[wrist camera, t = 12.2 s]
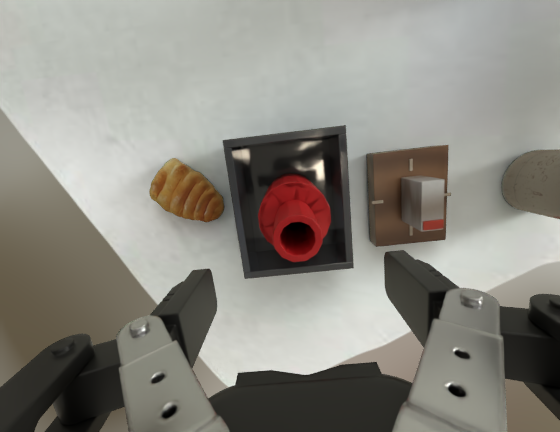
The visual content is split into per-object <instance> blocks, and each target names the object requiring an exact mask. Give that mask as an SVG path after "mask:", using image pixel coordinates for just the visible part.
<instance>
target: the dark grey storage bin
mask: <svg viewBox="0 0 560 432" xmlns="http://www.w3.org/2000/svg"><path fill="white" fill-rule="evenodd" d="M223 146H224V152H225V158H226V165H227V171H228V177H229V183H230V190H231V196H232V202H233V208H234V215H235V221H236V227H237V233H238V240H239V246H240V252H241V259H242V265H243V271H244V277H245V279H248V278H258V277H268V276H278V275H288V274H299V273H309V272H319V271H329V270H339V269H349V268H354V266H353V249H352V231H351V212H350V194H349V176H348V158H347V139H346V125H344V126H336V127H327V128H319V129H311V130H303V131H295V132H287V133H278V134H270V135H262V136H254V137H246V138H237V139H229V140H223ZM288 173H295V174H299V175H302V176H304V177H306V178H307V179H308V180H309V181H311V182H312V183H313V184H314V185H315V186H316V187H317V189H318V190H319V191H320V192H321V193H322V194H323V195H324V197H325V199H326V201H327V203H328V204H329V206H330V215H331V223H330V225H329V228H328V231H327V234H326V235H325V237H324V238H323V239H322V241H323V242H322V245H321V247H320V249H319V251H318V253H317V254H316V255H314V256H313V257H311V258H310V259H308V260H307V261H300V262H292V261H289V260H287V259H285V258H282V257H281V256H280V254H279V253H278V252H277V251H276V249H275V248H274V246H273V245H272V244H271V243H269V242H268V241H267V240H266V238H265V237H264V235H263V233H262V232H261V230H260V227H259V220H258V213H259V209H260V205H261V202H262V200H263V198H264V196H265V194H266V192H267V190H268V188H269V186H270V185H271V183H272V182H273V181H274V180H275V179H276V178H278V177H279V176H281V175H284V174H288Z"/></svg>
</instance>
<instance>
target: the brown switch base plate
mask: <svg viewBox="0 0 560 432" xmlns="http://www.w3.org/2000/svg"><path fill="white" fill-rule="evenodd" d="M367 173H368V199H369V225H370V241H371V242H372V243H373V244H374V245H375V246H376V247H378V246H388V245H397V244H407V243H417V242H427V241H437V240H445V239H446V207H447V196H451V193H447V175H448V145H440V146H430V147H421V148H412V149H404V150H395V151H387V152H378V153H370V154H367ZM412 176H426V177H433V178H439V179H444V180H445V182H444V216H443V220H444V224H443V229H441V230H432V231H422V232H421V231H419V230H418V229H416V228H414V227H412V226H411V225H409V224H407V223H405V222H404V221H402V206H401V178H403V177H412Z"/></svg>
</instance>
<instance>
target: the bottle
mask: <svg viewBox="0 0 560 432" xmlns="http://www.w3.org/2000/svg"><path fill="white" fill-rule="evenodd" d="M258 220H259V227H260V230H261V232H262V233H263V235H264V237H265V238H266V240H267V241H268V242H269V243H271V244H272V245H273V246H274V248H275V249H276V251H277V252H278V253H279V254H280V256H281V257H282V258H285V259H287V260H289V261H292V262H300V261H307V260H308V259H310V258H311V257H313V256H314V255H316V254H317V253H318V251H319V249H320V247H321V245H322V242H323V241H322V239H323V238H324V237H325V235H326V234H327V231H328V228H329V225H330V223H331V215H330V206H329V204H328V203H327V201H326V199H325V197H324V195H323V194H322V193H321V192H320V191H319V190H318V189H317V187H316V186H315V185H314V184H313V183H312V182H311V181H309V180H308V179H307V178H306V177H304V176H302V175H299V174H295V173H288V174H284V175H281V176H279V177H278V178H276V179H275V180H274V181H273V182H272V183H271V185H270V186H269V188H268V190H267V192H266V194H265V196H264V198H263V200H262V202H261V205H260V209H259V213H258Z"/></svg>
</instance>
